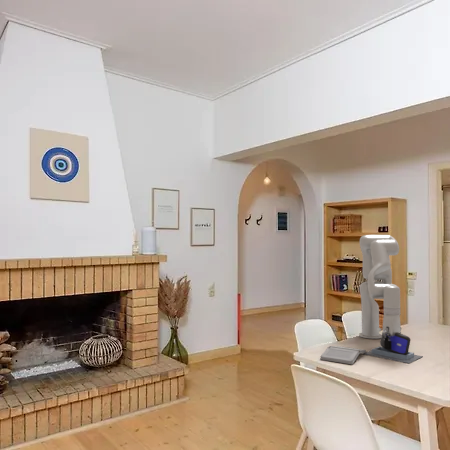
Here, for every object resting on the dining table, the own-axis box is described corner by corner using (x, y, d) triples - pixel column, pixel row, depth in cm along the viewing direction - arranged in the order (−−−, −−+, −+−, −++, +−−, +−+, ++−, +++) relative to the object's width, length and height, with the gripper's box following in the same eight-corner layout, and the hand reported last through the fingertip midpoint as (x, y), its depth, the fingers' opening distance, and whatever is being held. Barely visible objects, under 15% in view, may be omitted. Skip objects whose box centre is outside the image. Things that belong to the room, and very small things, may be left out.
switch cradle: (378, 348, 212) (378, 344, 212) (422, 357, 196) (422, 352, 196) (363, 354, 201) (363, 349, 201) (408, 363, 185) (408, 358, 185)
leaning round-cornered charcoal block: (374, 344, 205) (378, 326, 205) (381, 345, 207) (385, 326, 207) (401, 357, 190) (405, 337, 190) (407, 357, 192) (412, 337, 192)
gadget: (336, 349, 210) (336, 341, 210) (366, 353, 201) (366, 345, 201) (319, 359, 191) (319, 351, 191) (352, 365, 182) (352, 356, 182)
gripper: (392, 308, 208) (392, 343, 207) (376, 312, 196) (376, 349, 195) (407, 310, 202) (407, 345, 202) (391, 314, 190) (392, 352, 190)
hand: (392, 347), depth 198 cm, fingers open, 9 cm apart
